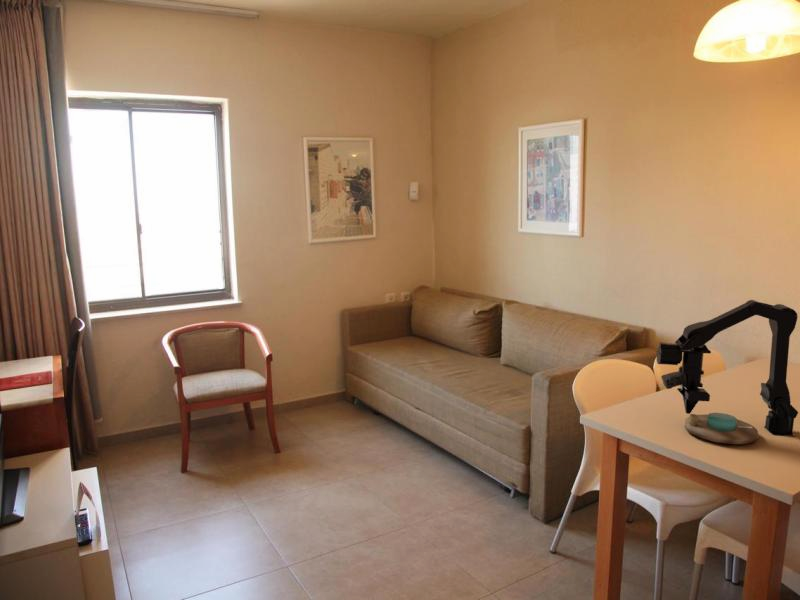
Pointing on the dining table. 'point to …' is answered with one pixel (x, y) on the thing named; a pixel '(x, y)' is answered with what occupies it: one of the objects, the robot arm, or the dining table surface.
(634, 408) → the dining table surface
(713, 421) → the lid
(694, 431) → the disc
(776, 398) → the robot arm
